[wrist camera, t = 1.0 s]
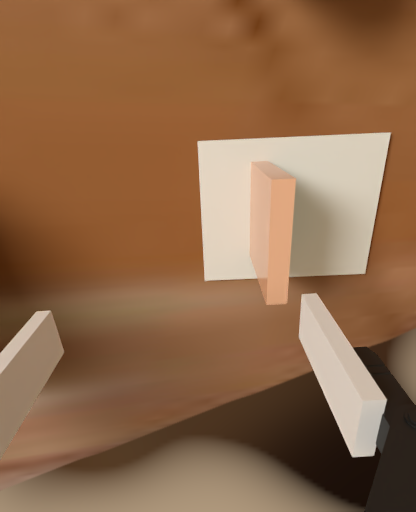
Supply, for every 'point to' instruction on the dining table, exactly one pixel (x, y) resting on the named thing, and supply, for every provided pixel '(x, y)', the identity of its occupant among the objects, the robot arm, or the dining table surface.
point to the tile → (271, 228)
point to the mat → (305, 204)
